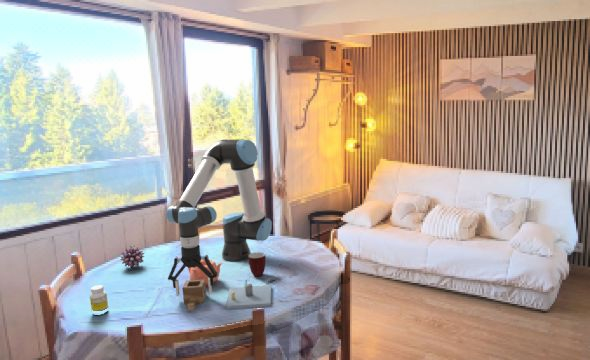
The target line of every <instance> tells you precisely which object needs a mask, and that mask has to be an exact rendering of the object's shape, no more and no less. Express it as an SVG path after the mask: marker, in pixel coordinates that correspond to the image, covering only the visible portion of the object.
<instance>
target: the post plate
mask: <svg viewBox="0 0 590 360" xmlns="http://www.w3.org/2000/svg"><path fill="white" fill-rule="evenodd" d="M271 297H272V285H270V284H268V285H265V284H264V285H253V284H251V283H246V284H245V285H244V286H237V287H229V290H228V295H227V299H226V301H225V302H226V303H225V309H226V310H229V309H231V310H232V309H247V308H260V307H261V308H263V307H271V306H272V305H271V303H272V302H271V301H272V298H271Z"/></svg>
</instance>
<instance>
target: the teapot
mask: <svg viewBox="0 0 590 360" xmlns="http://www.w3.org/2000/svg"><path fill="white" fill-rule="evenodd" d="M209 261H210V262H211V264H212V266H213V267H214V269H215V270H216V272H217V277H214V278H213V280H214V283H215V282H216V281H218V279H219V277H220V272H221V265H223V264H224V263H223V262H219V263H218V264H216V262H215V261H213V260H211V259H209ZM200 262H201V263H202V264H203V265H204V266H205V267H206V268H207V269H208V270H209V271H210V269H209V268H208V266H207V265H206V263H205V261H203V260H202V259H201V261H200ZM187 269H188V273H189V280H203V279H205V286H206V288H207V287H208V288H209V286H208V278H209V277H208V276H207V275H206V274H205V273H204V272H203V271H202V270H201V269H199V268H198V267H195V268H193V267H191V268H188V267H187ZM210 272H211V271H210Z"/></svg>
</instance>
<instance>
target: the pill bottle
mask: <svg viewBox="0 0 590 360" xmlns="http://www.w3.org/2000/svg"><path fill="white" fill-rule="evenodd" d="M90 292H91V293H90V294H89V300H90V306H91V307H90V308H91V311H92V310H93V311H103V310H105V309H107V308H108V309H109V303H108V296H107V295H108V293H107V291H106V290H105V288H104V285H102V284H97V285H94V286H92V287H91V288H90Z"/></svg>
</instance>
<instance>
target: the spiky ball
mask: <svg viewBox="0 0 590 360" xmlns="http://www.w3.org/2000/svg"><path fill="white" fill-rule="evenodd" d="M121 255H122V256H120V261H122V262H121V264H122V265H123V264H124V267H127V265H128V267H130V268H131V267H132V268H133V266H134V265H135V267H136V266H137V267H138V266H139V267H140V264H142V263H144V259H143V258H145V252H144V250H143V249H142V250H141V247H139V246H138V245H136V247H135V244H134V245H130V247H128V246H126V247H125V250H124V251H121Z"/></svg>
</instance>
